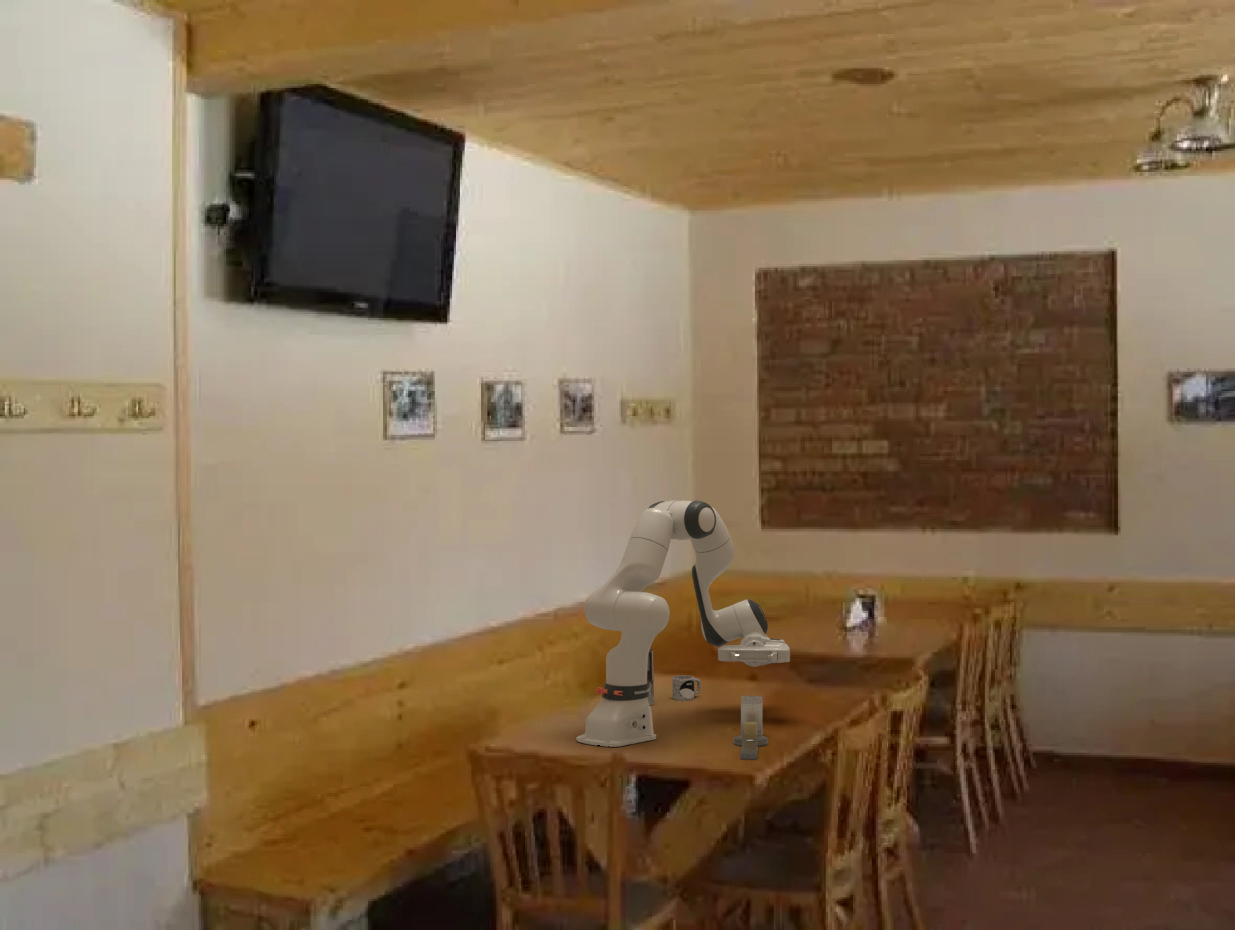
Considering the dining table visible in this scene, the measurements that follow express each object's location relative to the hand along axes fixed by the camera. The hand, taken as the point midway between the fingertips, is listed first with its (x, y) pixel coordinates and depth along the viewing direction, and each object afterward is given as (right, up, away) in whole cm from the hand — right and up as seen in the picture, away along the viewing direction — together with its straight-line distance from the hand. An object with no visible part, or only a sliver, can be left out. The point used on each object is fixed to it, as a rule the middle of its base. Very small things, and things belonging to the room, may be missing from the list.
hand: (753, 658), depth 421 cm
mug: (-16, -18, +44) cm, 50 cm away
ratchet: (-3, -20, -29) cm, 35 cm away
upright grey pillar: (-1, -19, -12) cm, 23 cm away
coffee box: (-31, -18, +35) cm, 51 cm away
